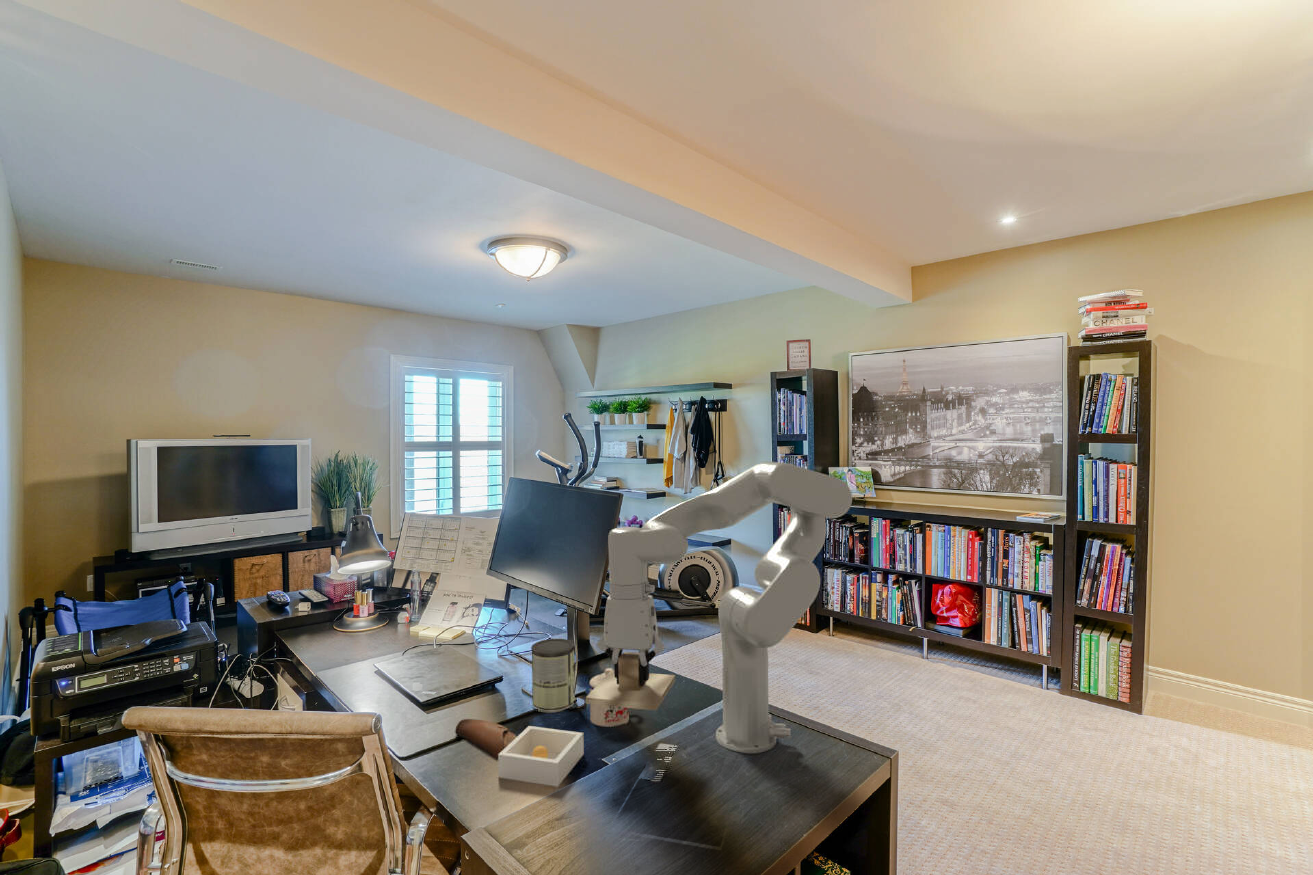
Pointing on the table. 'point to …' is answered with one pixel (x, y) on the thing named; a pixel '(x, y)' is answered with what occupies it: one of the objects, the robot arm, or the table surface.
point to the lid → (631, 686)
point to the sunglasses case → (485, 735)
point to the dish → (546, 771)
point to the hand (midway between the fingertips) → (632, 681)
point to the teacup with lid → (606, 708)
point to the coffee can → (553, 675)
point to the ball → (540, 752)
